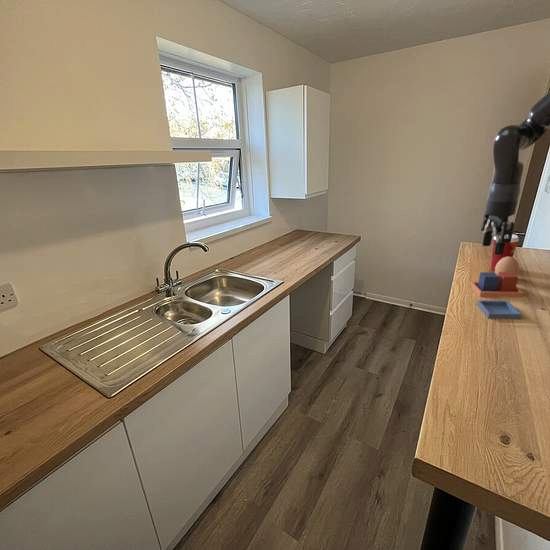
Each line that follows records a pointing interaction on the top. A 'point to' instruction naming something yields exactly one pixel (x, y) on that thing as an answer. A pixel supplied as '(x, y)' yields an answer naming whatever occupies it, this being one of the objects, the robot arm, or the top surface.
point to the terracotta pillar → (507, 282)
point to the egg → (507, 265)
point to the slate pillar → (488, 281)
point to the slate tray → (498, 309)
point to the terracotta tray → (496, 294)
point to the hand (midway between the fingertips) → (491, 249)
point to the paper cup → (507, 251)
